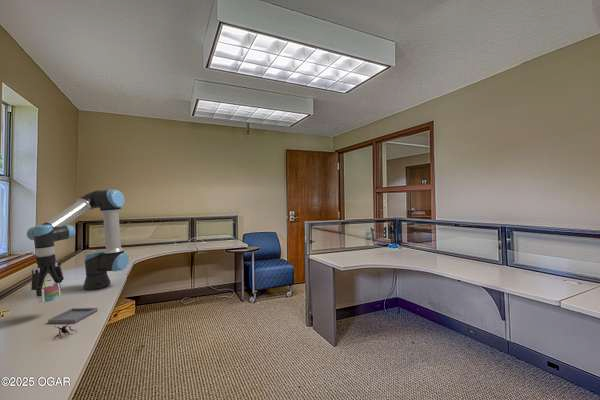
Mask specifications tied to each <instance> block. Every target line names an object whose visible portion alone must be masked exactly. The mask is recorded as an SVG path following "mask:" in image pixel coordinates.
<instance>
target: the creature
mask: <svg viewBox="0 0 600 400" xmlns="http://www.w3.org/2000/svg"><path fill="white" fill-rule="evenodd" d="M70 322H71V321H70ZM70 322H69V323H66V325H63V326H62V327H58V326H56V325H53V327H54V328H57V329H58V333H57V335H56V337H58V336H59V337H60V339H61V338H63V336H61V335H62V334H64V336H66V338H68V336H70V335H72V334H71V333H70V332H69V330H70V331H71V332H72V331H73V332H76V333H78V330H75V329H72V328H71V325H70V326H69V324H71V323H70ZM67 327H68V329H69V330H68V329H66V328H67ZM56 337H54V340H56Z"/></svg>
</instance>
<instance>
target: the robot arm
mask: <svg viewBox="0 0 600 400" xmlns="http://www.w3.org/2000/svg"><path fill="white" fill-rule="evenodd" d="M124 205H125V197H124V195H123V193H122V192H121V191H120V190H119V189H101V190H99V189H98V190H97V189H96V190H92V191H91V192H88V193H85V194H84V195H83V196H80V197H79V198H78V199H76V201H75V202H74V203H73V204H71V205H69V206H68V207H67V208H65V209H64V210H62V211H60V212H59V213H58V214H56V215H54V216H53V217H51V218H50V219H48V220H47V221H45V222H43V223H42V224H41V225H40V224H39V225H35V226H32V227H29V228H28V229H27V231H26V237H27V239H29V240H31V241H33V243H34V254H35V263H36V264H37V268H35V269H32V270H31V275H32V276H31V277H32V278H31V291H35V292H36V297H37V302H38V303H46V302H45V298H44V289H42V288H43V287H44V279H45V280H46V277H47V275H48V274H49V275H50V277H51V278H52V280H53V281H54V283H53V285H52V286H56V287H58V288H59V289H60V291H59V292H58V293H57V295H56V296H61V287H62V286H61V283H63V280H64V275H63V271H62V267H61V262H56V254H55V253H56V251H55V250H56V249H55V248H56V247H55V242H59V241H63V240H68V239H71V238H73V237H75V235H76V228H75V227H74V226H73V225H71V224H70V223H71V222H72V221H73V220H75V219H77V218H78V217H80V216H81V215H83V213H84V214H85V213H87V212H90V211H91V210H93V209H99V211H100V212H101V213H102V215H103V226H104V227H103V231H104V241H105V250H101V251H96V252H91V253H88V254H86V255H85V256H84V265H85V266H84V267H85V280H84V282H83V286H82V287H83V290H85V291H93V290H94V291H95V290H99V289H104V288H106V287H109V286H111V279H110V278H109V277H110V276H109V275H108V272H119V271H120V272H121V271H123V270H124V269H126V268H127V266H128V264H129V260H130V259H129V255H128V254H127V252H126V253H125V249H124V248H123V247H122V242H121V241H122V240H121V230H120V229H121V228H120V216H119V213H120V211H121V210H122V207H124Z"/></svg>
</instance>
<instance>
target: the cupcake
mask: <svg viewBox="0 0 600 400" xmlns="http://www.w3.org/2000/svg"><path fill="white" fill-rule="evenodd" d="M43 286H44V287H42V289H44V298H45V302H44V303H48V302H52V301H54V300H56V298H57V296H58V295H57V293H58V292H59V291H60V292H61V288H60V289H59V288H58V287H56V286H54V285H49V286H48V285H47V283H46V278H45V279H44V283H43Z"/></svg>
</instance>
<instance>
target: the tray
mask: <svg viewBox="0 0 600 400" xmlns="http://www.w3.org/2000/svg"><path fill="white" fill-rule="evenodd" d="M98 311H99V310H98V307H72V308H69V309H68V310H66V311H63V312H61V313H60V314H57V315H55V316H53V317H51V318H49V319H47V324H50V323H54V324H68V323H69V322H70V321H71V322H70V323H69V324H77V323H79V322H80V320H81V321H82V320H84V319H85V318H87V317H89V316H91V315H93V314H96V313H97V312H98Z"/></svg>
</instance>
